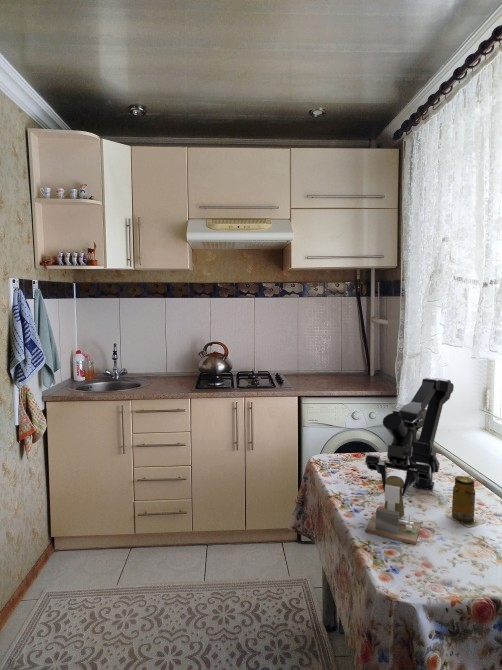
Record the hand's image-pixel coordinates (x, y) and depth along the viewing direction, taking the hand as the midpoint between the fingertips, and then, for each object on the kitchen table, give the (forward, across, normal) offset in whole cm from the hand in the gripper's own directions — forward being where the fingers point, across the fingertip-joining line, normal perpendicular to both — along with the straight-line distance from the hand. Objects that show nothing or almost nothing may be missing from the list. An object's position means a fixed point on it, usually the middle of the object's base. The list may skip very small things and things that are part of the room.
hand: (393, 493), depth 133 cm
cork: (+4, 0, +6) cm, 7 cm away
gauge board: (+9, +1, +2) cm, 10 cm away
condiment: (-2, +19, +14) cm, 23 cm away
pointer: (+9, +5, +1) cm, 10 cm away
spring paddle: (+7, +2, +3) cm, 8 cm away
